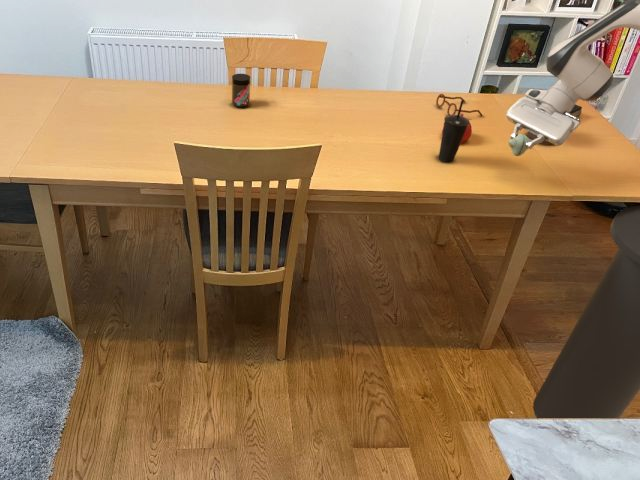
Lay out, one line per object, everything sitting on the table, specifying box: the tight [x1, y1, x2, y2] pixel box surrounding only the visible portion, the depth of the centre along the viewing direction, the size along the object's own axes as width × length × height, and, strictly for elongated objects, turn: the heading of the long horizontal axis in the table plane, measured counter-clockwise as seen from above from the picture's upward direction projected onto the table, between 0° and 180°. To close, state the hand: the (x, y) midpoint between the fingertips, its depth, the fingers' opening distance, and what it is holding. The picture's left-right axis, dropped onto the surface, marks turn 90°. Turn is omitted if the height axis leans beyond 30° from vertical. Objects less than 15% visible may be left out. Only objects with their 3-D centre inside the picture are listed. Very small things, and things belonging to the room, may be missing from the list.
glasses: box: [435, 93, 483, 117], centre depth 219 cm, size 13×13×5 cm
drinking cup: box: [438, 99, 470, 164], centre depth 185 cm, size 8×8×20 cm
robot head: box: [508, 133, 533, 157], centre depth 175 cm, size 8×4×7 cm, turn 88°
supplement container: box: [231, 73, 251, 109], centre depth 214 cm, size 7×7×10 cm
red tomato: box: [441, 113, 473, 143], centre depth 200 cm, size 10×10×9 cm
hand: (519, 142), depth 174 cm, fingers closed on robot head, 4 cm apart
